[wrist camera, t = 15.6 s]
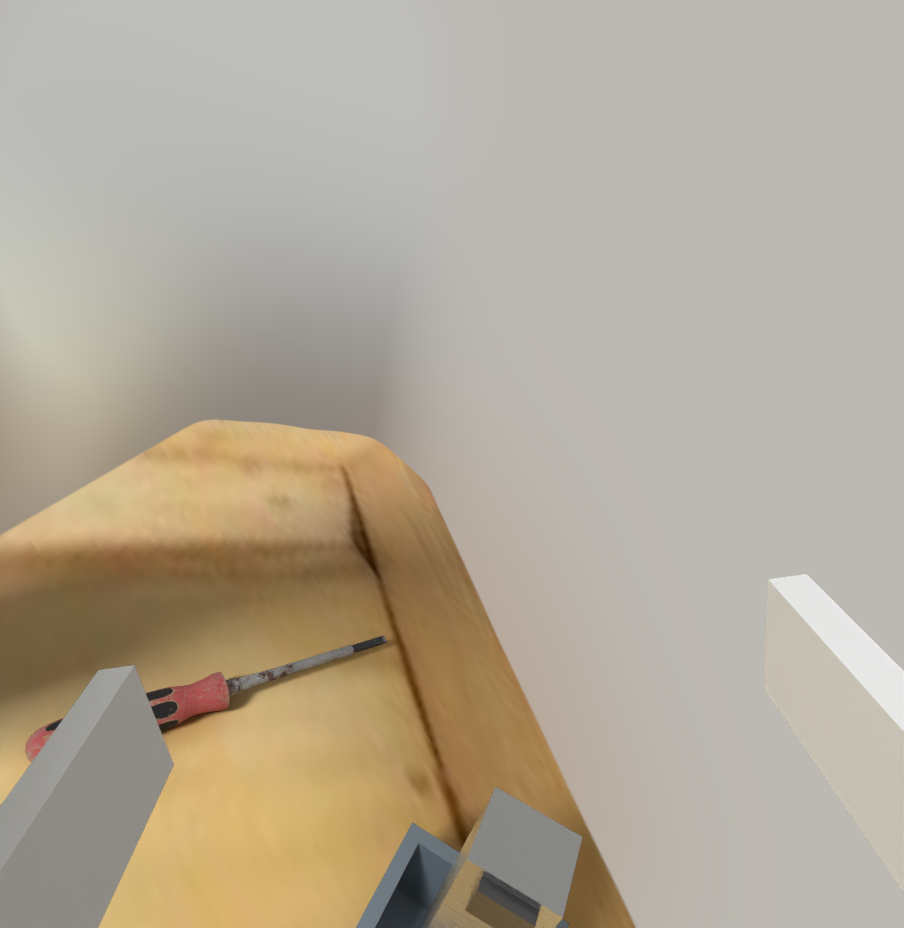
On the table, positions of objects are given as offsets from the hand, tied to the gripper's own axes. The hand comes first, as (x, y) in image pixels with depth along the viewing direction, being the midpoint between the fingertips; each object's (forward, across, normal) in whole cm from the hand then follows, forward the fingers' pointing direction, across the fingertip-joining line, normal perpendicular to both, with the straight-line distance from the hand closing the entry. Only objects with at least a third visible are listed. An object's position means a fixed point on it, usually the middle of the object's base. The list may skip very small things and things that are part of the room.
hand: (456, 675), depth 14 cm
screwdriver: (+27, -18, -22) cm, 39 cm away
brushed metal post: (+10, -5, -29) cm, 32 cm away
